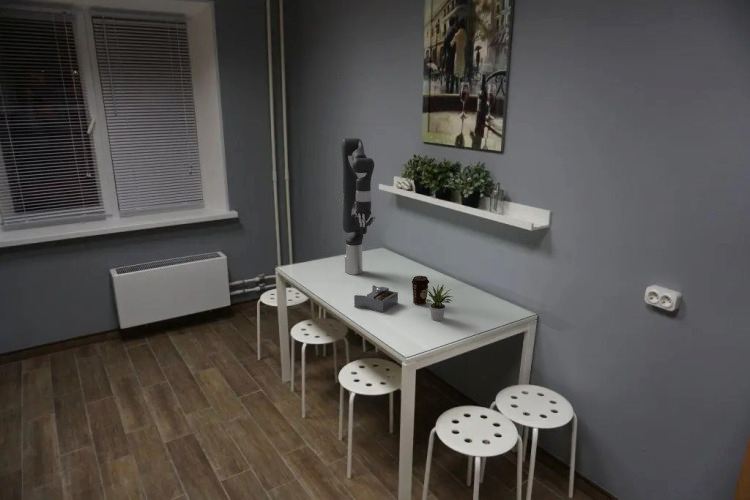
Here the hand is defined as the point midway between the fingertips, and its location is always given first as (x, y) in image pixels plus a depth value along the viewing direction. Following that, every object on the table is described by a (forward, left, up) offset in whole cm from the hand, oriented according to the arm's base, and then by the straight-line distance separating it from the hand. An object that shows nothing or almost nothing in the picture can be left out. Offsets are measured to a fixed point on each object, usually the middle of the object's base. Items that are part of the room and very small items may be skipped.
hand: (363, 233), depth 248 cm
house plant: (+46, -10, -31) cm, 56 cm away
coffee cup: (+31, +3, -31) cm, 44 cm away
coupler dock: (+14, -10, -31) cm, 36 cm away
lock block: (+14, -9, -31) cm, 36 cm away
